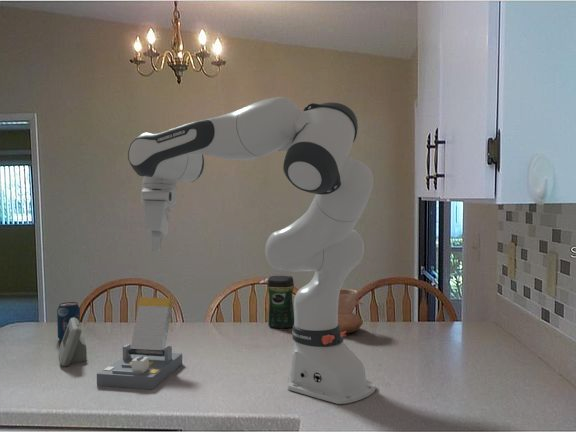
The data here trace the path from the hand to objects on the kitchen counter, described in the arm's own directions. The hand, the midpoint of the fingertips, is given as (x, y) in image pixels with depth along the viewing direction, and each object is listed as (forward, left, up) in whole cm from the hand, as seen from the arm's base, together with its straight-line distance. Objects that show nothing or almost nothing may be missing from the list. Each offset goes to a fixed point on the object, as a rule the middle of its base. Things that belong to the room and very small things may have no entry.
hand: (156, 251), depth 118 cm
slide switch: (+2, +4, -30) cm, 31 cm away
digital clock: (+35, +11, -34) cm, 49 cm away
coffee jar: (+17, -57, -34) cm, 69 cm away
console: (+7, +1, -33) cm, 34 cm away
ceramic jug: (-2, -67, -34) cm, 75 cm away
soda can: (+55, +5, -34) cm, 65 cm away
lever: (+9, -1, -28) cm, 30 cm away
